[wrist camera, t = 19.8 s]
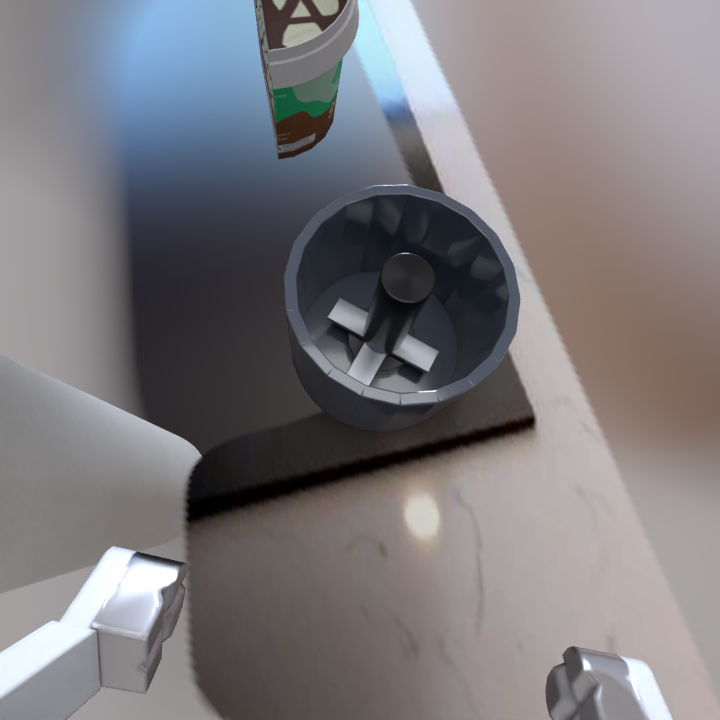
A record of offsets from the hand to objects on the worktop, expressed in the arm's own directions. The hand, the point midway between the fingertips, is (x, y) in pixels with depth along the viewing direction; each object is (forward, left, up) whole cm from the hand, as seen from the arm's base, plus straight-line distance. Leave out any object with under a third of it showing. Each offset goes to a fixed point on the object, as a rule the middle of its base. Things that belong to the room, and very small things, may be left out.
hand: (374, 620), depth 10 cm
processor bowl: (-7, +10, -20) cm, 24 cm away
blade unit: (-7, +10, -19) cm, 23 cm away
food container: (-25, +19, -20) cm, 38 cm away
